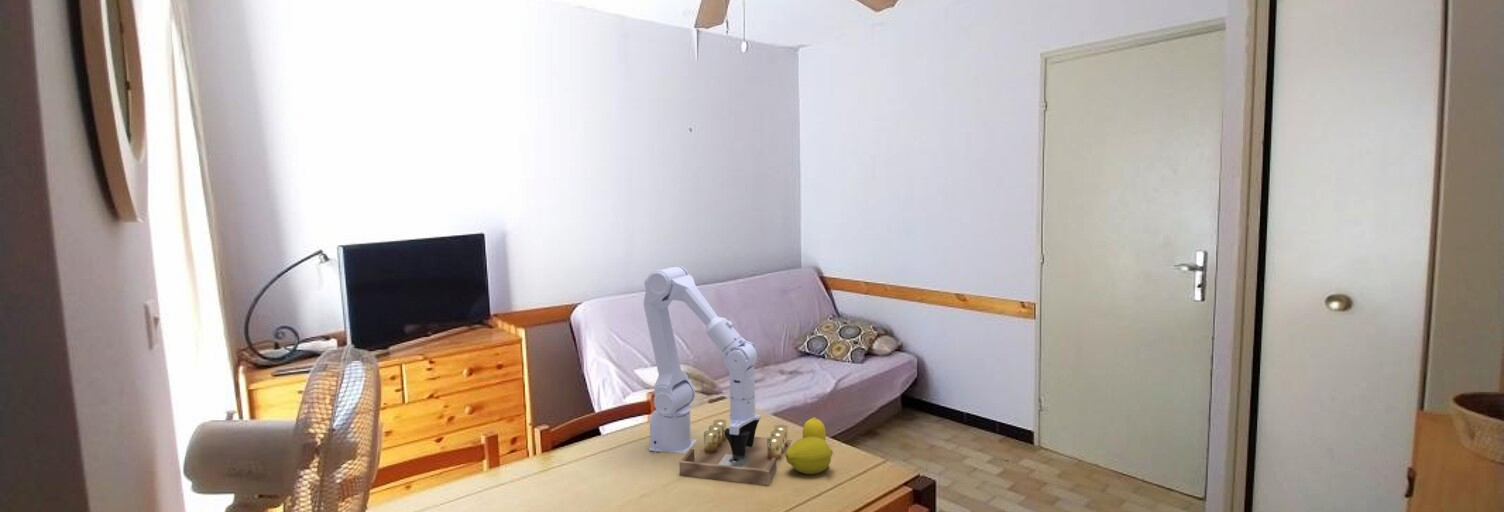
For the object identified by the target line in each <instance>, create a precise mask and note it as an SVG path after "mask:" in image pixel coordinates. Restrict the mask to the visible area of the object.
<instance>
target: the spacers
mask: <svg viewBox="0 0 1504 512" xmlns="http://www.w3.org/2000/svg"><path fill="white" fill-rule="evenodd" d="M712 423H713V424H712V425H709V426H708V430H706V431H703V447H704V452H705V453H707V454H713V453H716V452H717V451H718V447H721V446H722V442H723V441H726V440H727V438H726V436H725V430H726V429H727V420H725V419H719V418H718V419H715V420H713V422H712ZM788 428H789V427H788V426H787V425H785V424H777V425H775V426H774V427H773V430H772V431H771V432H770V436H768V437H766V438H767V456H768V459H769V460H772V458H773V457H774V458H776V460H779V459H781V454H782V453H784V452H785V447H787V446H788V440H789V436H788V430H789V429H788Z"/></svg>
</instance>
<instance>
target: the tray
mask: <svg viewBox="0 0 1504 512" xmlns="http://www.w3.org/2000/svg"><path fill="white" fill-rule="evenodd" d="M767 438H768V437H761V436H754V442H753V446H752V447H746V449H745V456H750V467H749V468H744V467H735V466H726V465H718V464H719V463H720V461H721V460H722V458H723V457H724V456H725V454H731V455H733V453H732V449H731V446H730V443H729V441H728V439H727V440H726V441H723V442H722V446H721V447H718V451H717V452H716V453H713V454H707V453H705V452H704V446H703V447H702V448H701V449H700V451H699V452H698V453H697V454H696V455H695V449H694V448H693V449H692V448H690V449H689V450H688V451H687V452H686V454H685V455H684V456H683V458H682V459H681V460H679V462H678V463H679V466H678V467H679V476H682V477H692V478H699V479H709V480H717V481H718V480H719V481H725V482H726V481H727V482H733V483H734V482H735V483H741V484H742V483H744V484H752V485H761V486H762V485H763V486H767V487H769V486H770V485H771V482H772V480H773V478H774V476H775V474H776V472H777V471H778V469H779V467H780V465H781V463H782V461H783V459H784V457H785V454H786V452H787V451H788V450H789V448H790V447H791V446H790V445H791V444H792V442H793V439H788V446H787V447H785V452H784V453H782V454H781V459H779V460H776V458H774V457H773V458H772V460H769V459H768V456H767Z"/></svg>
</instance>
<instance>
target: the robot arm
mask: <svg viewBox="0 0 1504 512" xmlns="http://www.w3.org/2000/svg"><path fill="white" fill-rule="evenodd" d="M644 287H645V295H644V299H643V307H644V312H645V318H646V323H647V326H648V331H649V332H648V333H649V336H650V339H651V341H650V342H651V345H652V350H653V354H654V360H655V364H656V369H657V373H658V377H657V379H656V381H655V383H654V385H653V389H654V398H653V405H654V409H655V410H654V411H653V412H652V413H651V416H650V419H649V440H650V442H649V444H650V445H649V446H650V447H649V452H657V453H662V452H671V453H677V454H678V453H680V454H685V453H686V454H687V453H688V452H689V451H690V450H691V449H692V446H694V444H695V443H696V442H697V441H698V440H697V439H694V438H693V439H692V434H691V432H692V431H691V429H692V428H691V426H692V425H691V403H693V402H694V399H695V396H696V391H695V389H694V386H693V384H692V383H691V381H690V379H689V374H687V373H686V372H685V371H684V370H682V369H681V368H682V367H681V363H680V357H679V355H678V350H677V343H676V340H675V336H674V331H673V326H672V320H671V317H670V312H669V306H670V304H672V301H679V302H683V303H684V304H685V305H686V306H687V307H688V308H689V309H690V310H691V311H692V312H693V313H694V314H695V316H697V317H698V318H699V320H701V322H702V323H703V324H704V325H705V326H706V331H705V333H706V335H707V337H708V338H709V339H710V340H711V342H712V343H713V344H714V345H715V346H716V347H717V349H718V350H719V351H720V353H721V354H722V355H723V356H724V359H723V360H724V361H723V362H724V365H725V367H726V369H727V370H728V372H729V402H730V403H729V405H730V406H729V407H730V413H729V422H730V423H729V424H730V425H729V428H728V427H726V430H725V436H726V438H727V439H728V441H729V443H730V446H731V449H732V453H733V455H741V456H745V449H746V447H752V446H753V442H754V437H756V430H757V427H758V423H760V419H761V414H759V413H756V385H755V384H756V383H755V382H756V380H755V364H756V363H757V362H758V359H759V353H758V349H757V347H756V346H755V344H754V343H753V342H751V341H747V340H746V339H745V338H744V337H742V336H741V335H740V334H739V331H737V330H736V328H734V323H733V322H732V321H731V320H728V319H727V318H726V317H721V316H718V314H717V313H716V312H715V310H714V309H713V308H712V306H711V305H710V303H709V302H708V301H707V299H706V298H705V296H703V294H702V293H701V291H700V289H699V288H698V287H697V285H696V282H695V279H694V278H693V276H692V275H691V274H689V272H688V270H687V269H686V268H685V267H683V266H681V265H674V266H671V267H667V268H663V269H655V270H653V271H651V273H650V274H649V275H648V276H647V278H646V279H645V280H644Z"/></svg>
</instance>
